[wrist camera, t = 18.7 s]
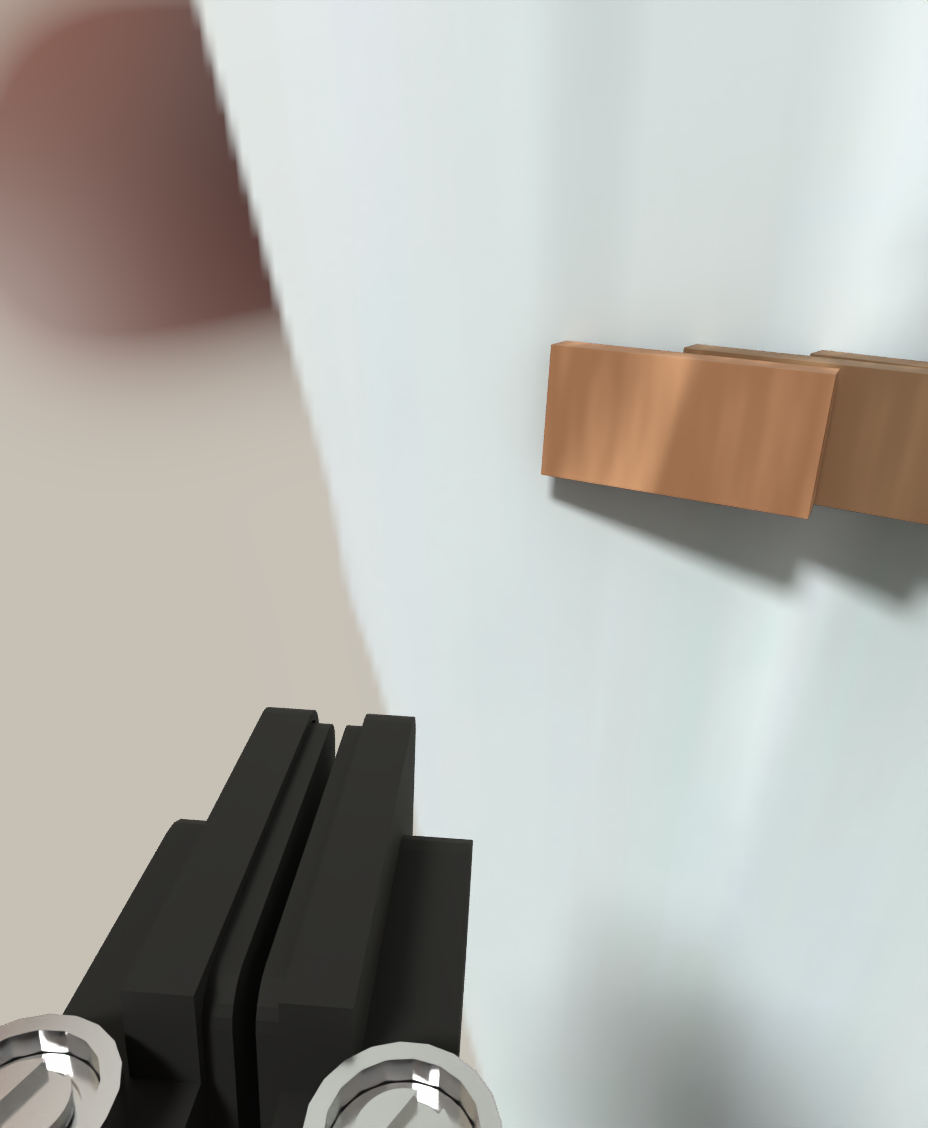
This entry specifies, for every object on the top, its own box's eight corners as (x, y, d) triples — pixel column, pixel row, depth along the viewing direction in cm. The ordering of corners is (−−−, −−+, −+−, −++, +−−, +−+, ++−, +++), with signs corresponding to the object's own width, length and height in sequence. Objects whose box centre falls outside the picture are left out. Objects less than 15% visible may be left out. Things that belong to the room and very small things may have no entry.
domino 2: (696, 344, 34) (989, 374, 30) (679, 470, 36) (953, 517, 31) (683, 347, 33) (989, 380, 28) (666, 477, 35) (951, 528, 30)
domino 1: (565, 340, 34) (839, 368, 30) (555, 465, 36) (812, 507, 32) (550, 344, 33) (836, 374, 29) (541, 474, 35) (807, 519, 31)
